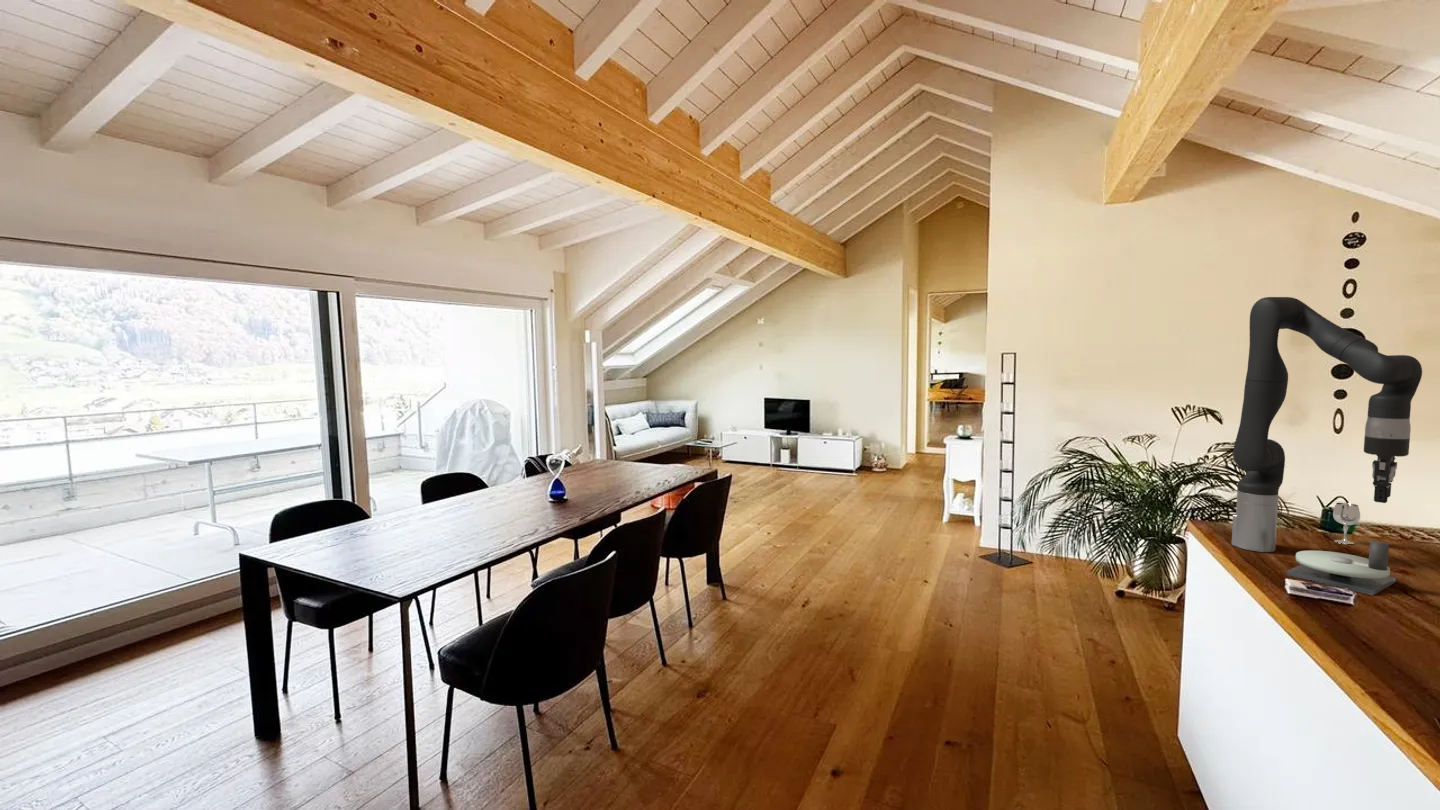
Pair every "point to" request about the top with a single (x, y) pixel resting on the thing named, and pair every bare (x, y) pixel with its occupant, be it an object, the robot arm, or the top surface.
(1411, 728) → the top surface
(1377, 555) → the handwheel
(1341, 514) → the wineglass
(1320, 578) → the wheel stand
